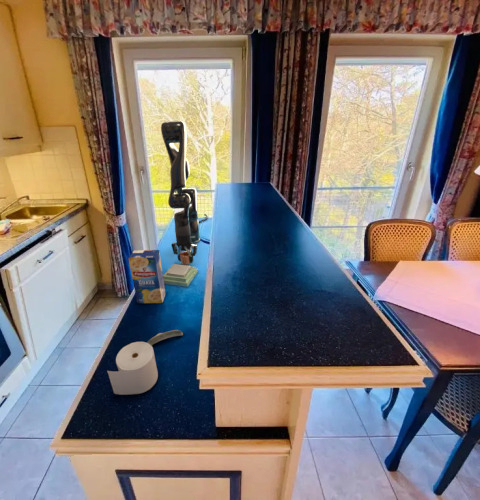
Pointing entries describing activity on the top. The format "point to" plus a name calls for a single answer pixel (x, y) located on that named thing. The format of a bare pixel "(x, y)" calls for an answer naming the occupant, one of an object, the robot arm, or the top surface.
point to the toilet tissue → (134, 369)
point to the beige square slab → (178, 270)
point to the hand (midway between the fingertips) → (185, 261)
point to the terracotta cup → (185, 258)
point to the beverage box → (147, 276)
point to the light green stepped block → (180, 278)
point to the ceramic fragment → (164, 336)
